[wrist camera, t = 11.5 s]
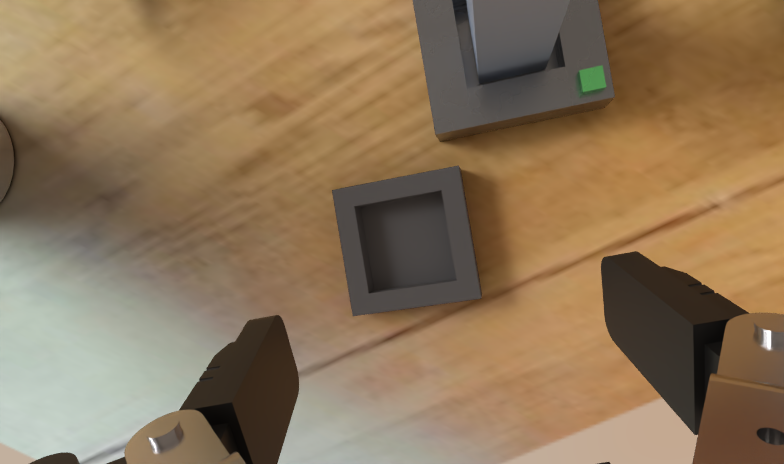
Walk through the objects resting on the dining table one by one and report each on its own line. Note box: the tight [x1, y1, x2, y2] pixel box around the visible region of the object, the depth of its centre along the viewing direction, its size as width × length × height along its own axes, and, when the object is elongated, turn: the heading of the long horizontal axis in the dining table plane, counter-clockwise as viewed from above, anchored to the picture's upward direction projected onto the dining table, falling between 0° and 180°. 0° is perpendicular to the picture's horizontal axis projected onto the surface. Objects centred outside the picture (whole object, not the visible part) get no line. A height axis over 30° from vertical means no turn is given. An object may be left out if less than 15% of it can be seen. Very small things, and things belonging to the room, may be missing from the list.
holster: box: [332, 166, 482, 316], centre depth 30 cm, size 8×8×2 cm
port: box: [413, 0, 615, 142], centre depth 28 cm, size 10×10×3 cm
